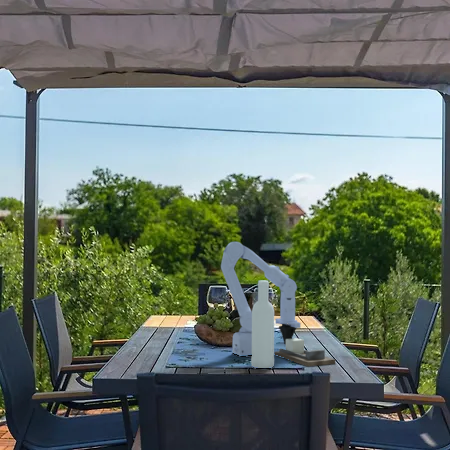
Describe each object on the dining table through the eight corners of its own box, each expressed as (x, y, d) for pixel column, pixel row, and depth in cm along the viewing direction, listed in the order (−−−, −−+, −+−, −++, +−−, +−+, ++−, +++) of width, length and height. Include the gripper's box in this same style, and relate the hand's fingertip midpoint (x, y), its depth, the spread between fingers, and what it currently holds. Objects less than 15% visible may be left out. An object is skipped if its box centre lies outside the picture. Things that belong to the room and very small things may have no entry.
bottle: (260, 363, 211) (260, 279, 212) (278, 366, 206) (279, 280, 207) (246, 367, 205) (247, 280, 206) (265, 370, 200) (266, 281, 201)
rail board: (308, 366, 207) (308, 353, 208) (274, 355, 227) (274, 343, 227) (335, 363, 213) (335, 351, 213) (300, 353, 232) (300, 341, 233)
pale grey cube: (293, 354, 222) (293, 341, 222) (285, 352, 226) (285, 339, 227) (303, 353, 224) (304, 340, 224) (296, 351, 229) (296, 338, 229)
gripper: (307, 310, 226) (306, 346, 225) (285, 307, 239) (285, 340, 238) (291, 311, 222) (291, 347, 222) (271, 307, 235) (270, 342, 235)
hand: (287, 344), depth 230 cm, fingers closed
